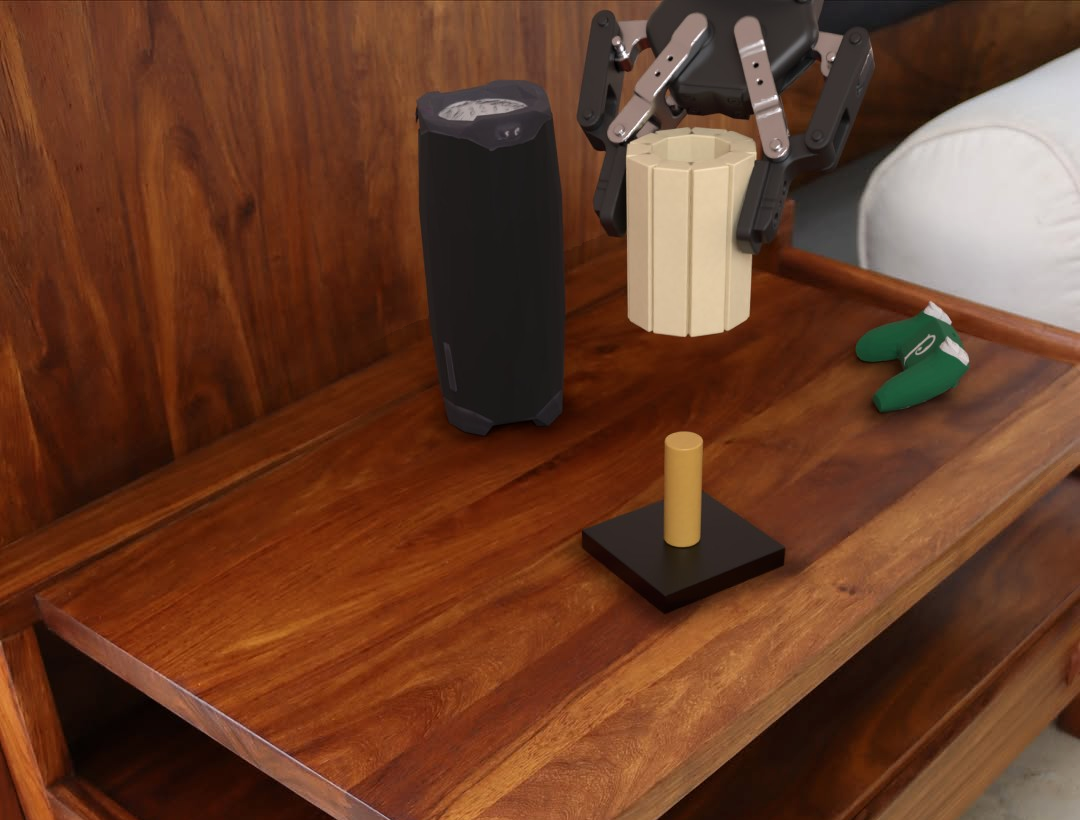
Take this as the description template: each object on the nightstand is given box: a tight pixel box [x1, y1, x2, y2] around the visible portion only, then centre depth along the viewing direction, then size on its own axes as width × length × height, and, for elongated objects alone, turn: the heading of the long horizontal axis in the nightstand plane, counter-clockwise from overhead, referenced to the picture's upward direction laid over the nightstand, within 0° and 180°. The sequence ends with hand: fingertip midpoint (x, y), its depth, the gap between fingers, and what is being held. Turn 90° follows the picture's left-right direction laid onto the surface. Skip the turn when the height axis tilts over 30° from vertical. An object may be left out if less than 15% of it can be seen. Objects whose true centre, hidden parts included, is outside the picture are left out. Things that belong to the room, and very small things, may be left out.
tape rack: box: [581, 431, 786, 615], centre depth 78 cm, size 8×8×7 cm
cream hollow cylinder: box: [626, 126, 758, 338], centre depth 70 cm, size 6×6×8 cm
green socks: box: [855, 300, 970, 413], centre depth 94 cm, size 9×4×6 cm
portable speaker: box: [414, 79, 566, 437], centre depth 89 cm, size 9×9×20 cm
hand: (678, 237), depth 69 cm, fingers closed on cream hollow cylinder, 6 cm apart
